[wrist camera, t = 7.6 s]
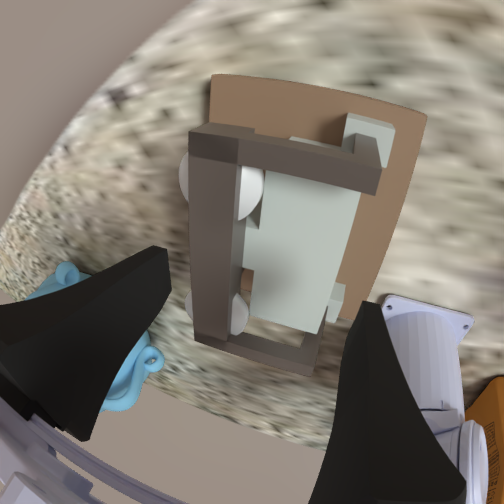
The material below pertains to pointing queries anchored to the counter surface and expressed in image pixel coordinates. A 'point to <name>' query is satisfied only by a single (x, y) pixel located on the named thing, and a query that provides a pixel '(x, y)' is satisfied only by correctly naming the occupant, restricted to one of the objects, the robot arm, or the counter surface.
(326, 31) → the counter surface
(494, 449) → the coffee package
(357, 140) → the bracket with white balls
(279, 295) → the tan board with cubes
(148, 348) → the decorative pot
